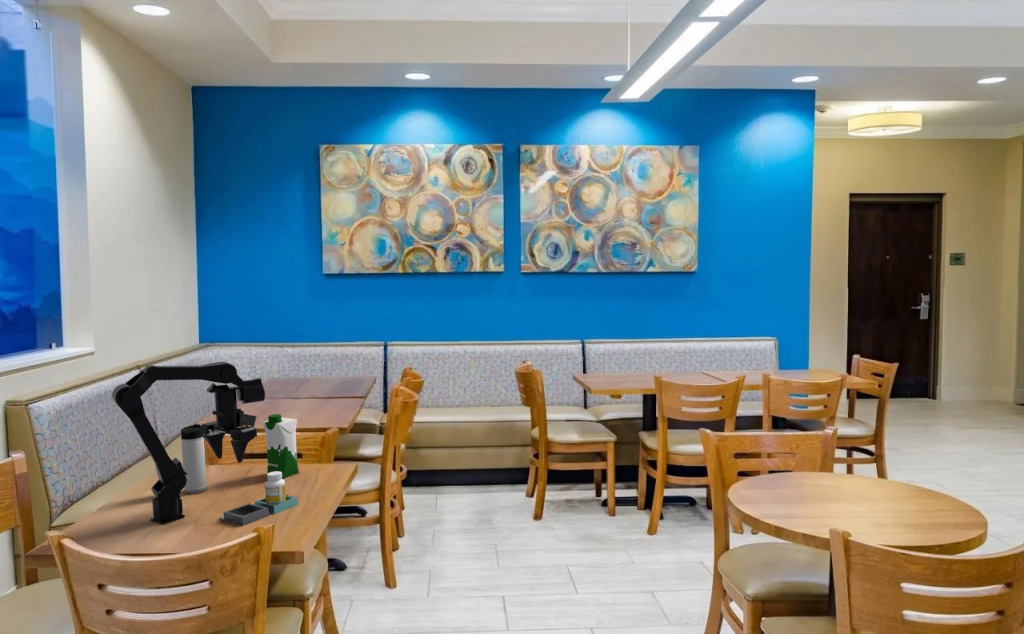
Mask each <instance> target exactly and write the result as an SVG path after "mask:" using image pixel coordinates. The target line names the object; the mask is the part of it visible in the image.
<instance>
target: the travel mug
mask: <svg viewBox="0 0 1024 634" xmlns="http://www.w3.org/2000/svg"><path fill="white" fill-rule="evenodd" d="M201 425H202V424H200V423H197V424H196V423H195V424H192V425H188V426H185V427H183V428H181V429H180V436H181V437H180V440H181V441H180V442H181V458H182V467H183V470H184V471H185V472H186V473H187V475H185V476H186V478H187V483H186V485H185V487H184V492H185V494H187V493H188V495H194V494H195V493H196V494H201V493H203V491H204V492H206V491H207V489H208V486H207V483H208V482H207V470H206V469H207V467H206V454H205V440H204V439H205V438H203V435H202V434H200V429H199V428H200V426H201ZM200 492H201V493H200ZM189 493H190V494H189Z"/></svg>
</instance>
